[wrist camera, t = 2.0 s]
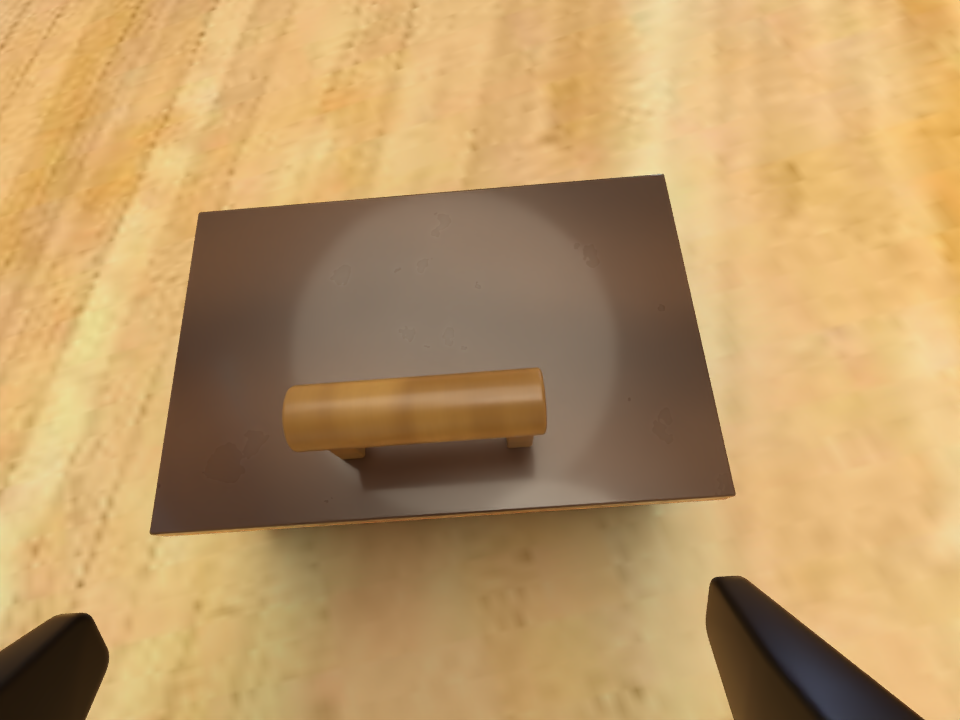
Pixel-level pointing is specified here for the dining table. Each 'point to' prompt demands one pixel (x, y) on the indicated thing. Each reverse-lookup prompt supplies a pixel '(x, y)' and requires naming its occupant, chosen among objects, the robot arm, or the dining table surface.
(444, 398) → the brown box lid
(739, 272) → the dining table surface
